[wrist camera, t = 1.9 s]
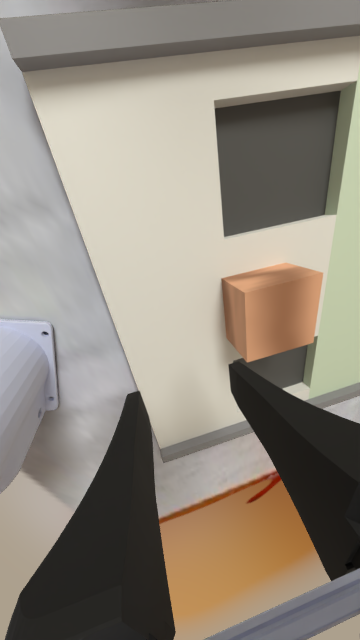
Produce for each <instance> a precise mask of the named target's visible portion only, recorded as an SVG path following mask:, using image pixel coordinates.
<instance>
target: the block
mask: <svg viewBox="0 0 360 640" xmlns="http://www.w3.org/2000/svg"><path fill="white" fill-rule="evenodd" d="M322 279H323V272H319V271H315V270H312V269H308V268H304V267H301V266H297V265H293V264H290V263H282V264H278V265H274V266H269V267H265V268H261V269H257V270H253V271H249V272H245V273H241V274H237V275H233V276H229V277H225V278H221V281H222V292H223V304H224V315H225V327H226V338H227V339H228V340H229V342H230V343H231V344H232V345H233V346H234V348H235V349H236V350H237V351H238V352H239V354H240V355H241V356H242V357H243V358H244V360H245V361H246V362H251V361H254V360H257V359H261V358H264V357H267V356H271V355H274V354H277V353H281V352H284V351H287V350H291V349H294V348H297V347H301V346H304V345H307V344H311V343H313V342H314V335H315V328H316V321H317V314H318V307H319V300H320V293H321V286H322Z"/></svg>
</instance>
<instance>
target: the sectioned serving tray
mask: <svg viewBox="0 0 360 640" xmlns="http://www.w3.org/2000/svg"><path fill="white" fill-rule="evenodd" d="M0 27H1V29H2V32H3V35H4V38H5V40H6V43H7V46H8V48H9V51H10V54H11V56H12V59H13V60H14V62H15V63H16V64H17V66H18V67H19V69H20V70H21V71H22V73H23V76H24V79H25V82H26V84H27V87H28V90H29V92H30V95H31V98H32V101H33V103H34V106H35V109H36V112H37V114H38V117H39V120H40V123H41V125H42V128H43V131H44V133H45V136H46V139H47V142H48V144H49V147H50V150H51V153H52V155H53V158H54V161H55V163H56V166H57V169H58V172H59V174H60V177H61V180H62V183H63V185H64V188H65V191H66V193H67V196H68V199H69V202H70V204H71V207H72V210H73V213H74V215H75V218H76V221H77V223H78V226H79V229H80V232H81V234H82V237H83V240H84V243H85V245H86V248H87V251H88V253H89V256H90V259H91V262H92V264H93V267H94V270H95V273H96V275H97V278H98V281H99V283H100V286H101V289H102V292H103V294H104V297H105V300H106V303H107V305H108V308H109V311H110V313H111V316H112V319H113V322H114V324H115V327H116V330H117V333H118V335H119V338H120V341H121V343H122V346H123V349H124V352H125V354H126V357H127V360H128V363H129V365H130V368H131V371H132V374H133V376H134V379H135V382H136V384H137V387H138V390H139V391H140V393H141V396H142V399H143V401H144V404H145V407H146V410H147V412H148V415H149V419H150V423H151V425H152V428H153V431H154V434H155V436H156V439H157V442H158V444H159V447H160V451H161V458H162V460H163V463H165V462H168V461H171V460H174V459H177V458H180V457H183V456H186V455H189V454H191V453H194V452H197V451H200V450H203V449H206V448H209V447H212V446H215V445H218V444H221V443H223V442H226V441H229V440H232V439H235V438H238V437H241V436H244V435H247V434H250V433H252V432H254V431H253V429H252V428H251V426H250V425H249V423H248V421H247V420H246V418H245V417H244V415H243V414H242V412H241V410H240V409H239V407H238V405H237V403H236V401H235V399H234V397H233V395H232V393H231V388H230V377H229V365H228V364H231V363H234V362H238V361H239V362H241V363H242V364H244V365H245V366H247V367H248V368H250V369H251V370H253V371H254V372H256V373H257V374H259V375H260V376H262V377H263V378H265V379H266V380H268V381H270V382H271V383H273V384H274V385H276V386H278V387H279V388H281V389H283V390H285V391H286V392H288V393H290V394H292V395H294V396H295V397H297V398H299V399H301V400H303V401H306V402H308V403H310V404H312V405H314V406H316V407H318V408H321V409H322V408H325V407H328V406H331V405H334V404H337V403H340V402H343V401H345V400H348V399H351V398H354V397H357V396H360V0H229V1H216V2H203V3H190V4H177V5H165V6H152V7H139V8H126V9H113V10H101V11H88V12H75V13H62V14H49V15H37V16H24V17H11V18H0ZM282 263H290V264H293V265H297V266H301V267H304V268H308V269H312V270H315V271H319V272H323V279H322V286H321V293H320V300H319V307H318V314H317V321H316V328H315V335H314V342H313V343H311V344H307V345H304V346H301V347H297V348H294V349H291V350H287V351H284V352H281V353H277V354H274V355H271V356H267V357H264V358H261V359H257V360H254V361H251V362H246V361H245V360H244V358H243V357H242V356H241V355H240V354H239V352H238V351H237V350H236V349H235V348H234V346H233V345H232V344H231V343H230V342H229V340H228V339H227V338H226V327H225V315H224V304H223V292H222V281H221V278H225V277H229V276H233V275H237V274H241V273H245V272H249V271H253V270H257V269H261V268H265V267H269V266H274V265H278V264H282Z"/></svg>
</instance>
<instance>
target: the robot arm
mask: <svg viewBox="0 0 360 640" xmlns="http://www.w3.org/2000/svg"><path fill="white" fill-rule="evenodd" d="M44 331H45V332H47V333H48V334H49V335H45V334H44V333H43V332H44ZM228 365H229V377H230V388H231V393H232V395H233V397H234V399H235V401H236V403H237V405H238V407H239V409H240V410H241V412H242V414H243V415H244V417H245V418H246V420H247V421H248V423H249V425H250V426H251V428H252V429H253V431H254V432H255V434H256V435H257V437H258V438H259V440H260V442H261V443H262V445H263V446H264V448H265V450H266V451H267V453H268V455H269V456H270V458H271V460H272V462H273V464H274V466H275V468H276V470H277V472H278V473H279V475H280V477H281V479H282V481H283V483H284V485H285V487H286V489H287V491H288V493H289V495H290V497H291V499H292V501H293V503H294V505H295V507H296V509H297V511H298V513H299V515H300V517H301V519H302V521H303V523H304V525H305V527H306V530H307V532H308V534H309V536H310V538H311V540H312V542H313V544H314V547H315V549H316V551H317V553H318V555H319V557H320V560H321V562H322V564H323V566H324V568H325V571H326V572H327V574H328V576H329V578H330V580H331V582H329V583H326V584H324V585H322V586H320V587H318V588H315V589H313V590H311V591H309V592H307V593H304V594H302V595H300V596H298V597H296V598H293V599H291V600H289V601H287V602H285V603H283V604H281V605H278V606H276V607H274V608H272V609H269V610H267V611H265V612H263V613H261V614H259V615H257V616H255V617H252V618H250V619H248V620H245V621H243V622H241V623H239V624H237V625H234V626H232V627H230V628H228V629H226V630H223V631H221V632H219V633H217V634H215V635H213V636H210V637H208V638H206V639H204V640H307V639H309V638H311V637H313V636H315V635H317V634H319V633H321V632H323V631H325V630H327V629H329V628H331V627H334V626H336V625H338V624H340V623H342V622H344V621H346V620H348V619H350V618H352V617H354V616H356V615H358V614H360V424H359V423H356V422H353V421H351V420H348V419H345V418H342V417H340V416H338V415H335V414H333V413H330V412H328V411H325V410H323V409H321V408H318V407H316V406H314V405H312V404H310V403H308V402H306V401H303V400H301V399H299V398H297V397H295V396H294V395H292V394H290V393H288V392H286V391H285V390H283V389H281V388H279V387H278V386H276V385H274V384H273V383H271V382H270V381H268V380H266V379H265V378H263V377H262V376H260V375H259V374H257V373H256V372H254V371H253V370H251V369H250V368H248V367H247V366H245V365H244V364H242V363H241V362H239V361H238V362H234V363H231V364H228ZM51 397H53V398H51ZM58 405H59V401H58V388H57V375H56V363H55V350H54V337H53V327H52V325H51V323H49V322H46V321H27V320H7V319H0V494H1V492H3V491H4V490H5V489H6V488H7V486H9V484H10V483H11V482H12V481H13V479H14V478H15V477H16V475H17V474H18V472H19V471H20V469H21V467H22V464H23V462H24V460H25V457H26V455H27V453H28V450H29V448H30V446H31V443H32V441H33V439H34V436H35V434H36V432H37V429H38V427H39V425H40V422H41V420H42V418H43V415H44V413H45V411H48V410H55V409H57V408H58ZM174 636H175V626H174V620H173V613H172V607H171V601H170V594H169V588H168V581H167V575H166V568H165V561H164V554H163V548H162V540H161V533H160V526H159V519H158V511H157V503H156V496H155V483H154V462H153V442H152V432H151V425H150V419H149V415H148V412H147V410H146V407H145V404H144V401H143V399H142V396H141V393H140V391H137V392H134V393H130V394H128V395H127V397H126V400H125V404H124V407H123V411H122V414H121V417H120V420H119V422H118V425H117V428H116V431H115V433H114V436H113V438H112V441H111V443H110V445H109V448H108V450H107V452H106V455H105V457H104V459H103V461H102V463H101V465H100V467H99V469H98V471H97V473H96V475H95V477H94V479H93V481H92V483H91V485H90V487H89V488H88V490H87V492H86V494H85V496H84V497H83V499H82V501H81V503H80V504H79V506H78V508H77V509H76V511H75V513H74V514H73V516H72V518H71V519H70V521H69V523H68V524H67V525H66V527H65V529H64V530H63V532H62V533H61V535H60V537H59V538H58V540H57V541H56V543H55V545H54V546H53V547H52V549H51V550H50V552H49V553H48V555H47V556H46V558H45V559H44V560H43V562H42V563H41V565H40V566H39V568H38V569H37V570H36V572H35V574H34V575H33V576H32V577H31V579H30V580H29V582H28V583H27V585H26V586H25V588H24V589H23V590H22V592H21V593H20V595H19V598H18V601H17V604H16V607H15V609H14V612H13V615H12V618H11V621H10V624H9V627H8V630H7V634H6V638H5V640H173V639H174Z"/></svg>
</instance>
